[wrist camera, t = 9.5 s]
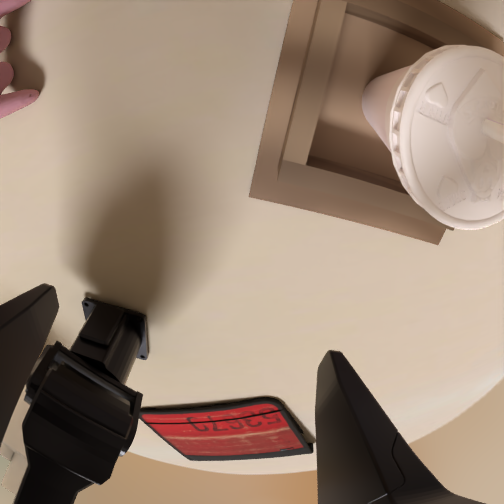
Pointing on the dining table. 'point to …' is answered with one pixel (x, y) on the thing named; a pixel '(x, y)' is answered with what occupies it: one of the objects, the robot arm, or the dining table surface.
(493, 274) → the dining table surface
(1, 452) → the vase
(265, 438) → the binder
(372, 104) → the smoothie
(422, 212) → the brown shallow square tray
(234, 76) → the dining table surface
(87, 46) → the dining table surface
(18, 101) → the video game controller
